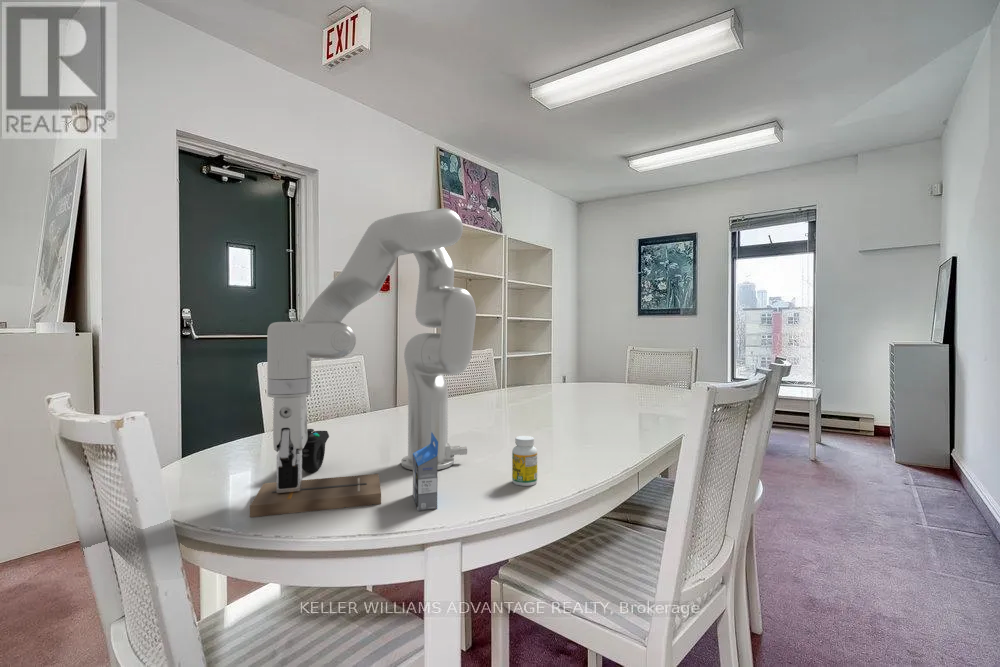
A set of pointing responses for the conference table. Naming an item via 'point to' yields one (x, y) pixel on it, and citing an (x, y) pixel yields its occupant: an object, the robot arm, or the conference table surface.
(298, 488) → the fader tab
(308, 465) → the controller
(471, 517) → the conference table surface
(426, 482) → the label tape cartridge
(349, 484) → the fader console
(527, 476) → the supplement bottle
